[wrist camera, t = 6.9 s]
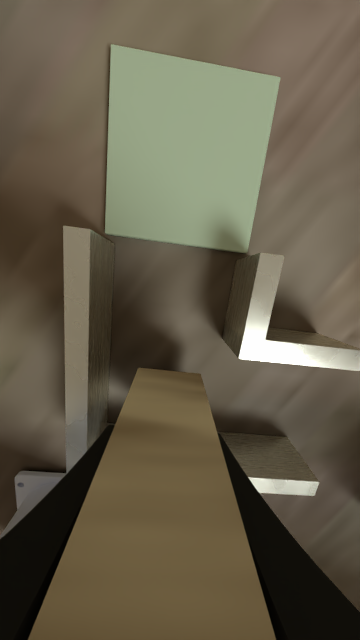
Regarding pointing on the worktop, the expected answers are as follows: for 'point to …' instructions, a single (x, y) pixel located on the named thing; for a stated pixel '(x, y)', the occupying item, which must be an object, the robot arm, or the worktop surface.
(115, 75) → the end pad
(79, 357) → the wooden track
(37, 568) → the robot arm
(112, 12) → the worktop surface
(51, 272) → the worktop surface
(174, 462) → the birch block
